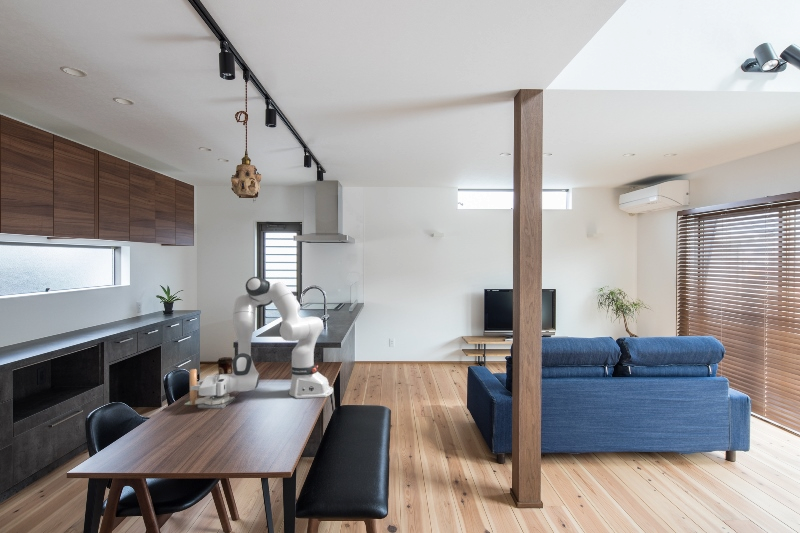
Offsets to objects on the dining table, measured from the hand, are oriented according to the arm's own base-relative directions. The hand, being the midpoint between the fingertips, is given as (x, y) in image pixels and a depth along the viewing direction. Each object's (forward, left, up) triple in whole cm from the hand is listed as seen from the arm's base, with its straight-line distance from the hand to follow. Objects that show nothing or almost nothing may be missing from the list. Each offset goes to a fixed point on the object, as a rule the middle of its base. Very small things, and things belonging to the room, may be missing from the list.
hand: (191, 385), depth 183 cm
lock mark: (+4, -4, -10) cm, 11 cm away
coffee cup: (+5, -41, -10) cm, 43 cm away
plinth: (-10, -4, -10) cm, 15 cm away
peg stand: (-7, -3, -8) cm, 11 cm away
